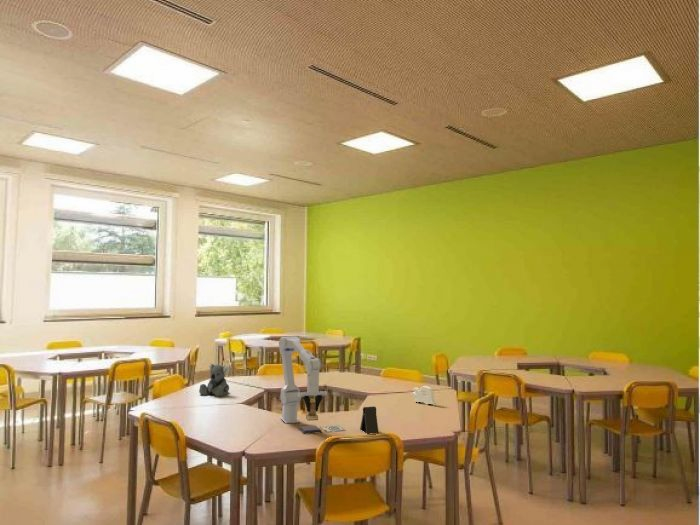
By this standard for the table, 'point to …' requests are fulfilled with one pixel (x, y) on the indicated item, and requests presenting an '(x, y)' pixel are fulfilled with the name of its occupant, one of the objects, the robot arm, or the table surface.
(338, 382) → the table surface
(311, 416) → the stamp
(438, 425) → the table surface
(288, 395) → the robot arm
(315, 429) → the ink pad
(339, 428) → the desk mat
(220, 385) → the koala plush
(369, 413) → the phone stand
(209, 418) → the table surface
